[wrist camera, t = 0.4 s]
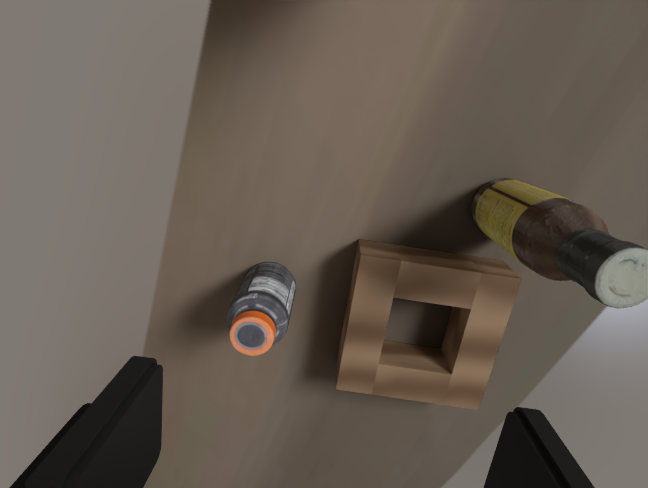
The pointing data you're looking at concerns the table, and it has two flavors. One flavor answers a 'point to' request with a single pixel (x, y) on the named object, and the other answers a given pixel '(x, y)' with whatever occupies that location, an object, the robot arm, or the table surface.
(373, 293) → the socket block
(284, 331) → the pill bottle
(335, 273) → the table surface
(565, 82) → the table surface
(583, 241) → the sauce bottle
